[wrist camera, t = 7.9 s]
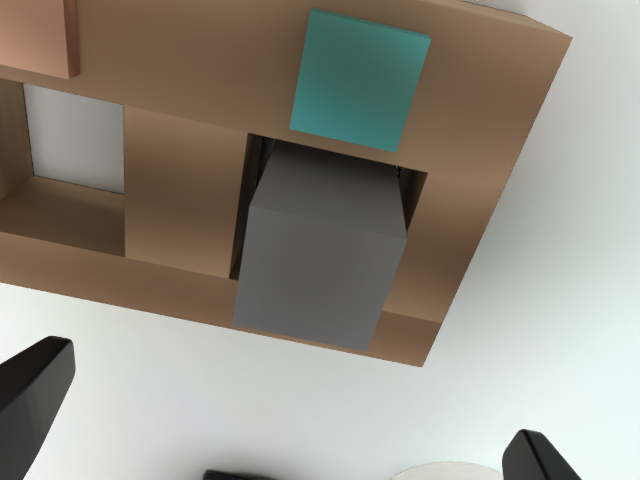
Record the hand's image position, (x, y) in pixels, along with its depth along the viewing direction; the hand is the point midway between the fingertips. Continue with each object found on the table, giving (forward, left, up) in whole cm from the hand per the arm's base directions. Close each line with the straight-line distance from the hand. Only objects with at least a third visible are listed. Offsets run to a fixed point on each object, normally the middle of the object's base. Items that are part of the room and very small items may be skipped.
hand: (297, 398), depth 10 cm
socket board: (+1, +4, -11) cm, 12 cm away
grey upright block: (0, 0, -11) cm, 11 cm away
